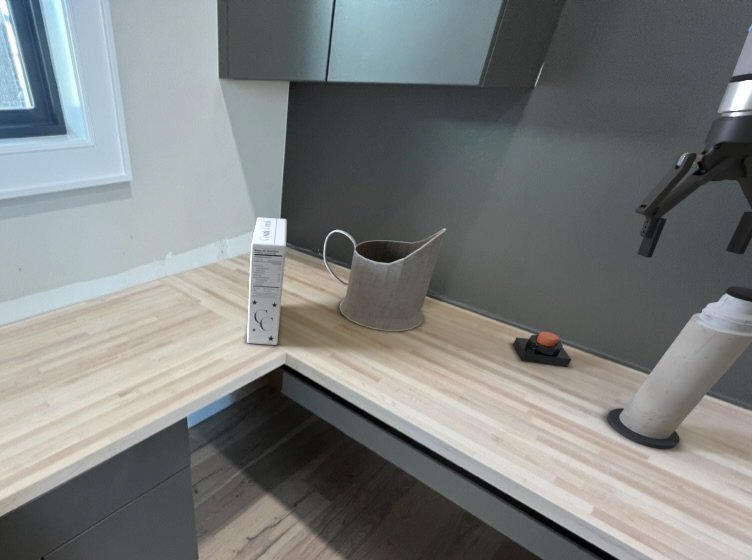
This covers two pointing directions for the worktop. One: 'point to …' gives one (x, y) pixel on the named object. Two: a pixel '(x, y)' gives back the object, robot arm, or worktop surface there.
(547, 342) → the lid button
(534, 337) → the button block
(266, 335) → the cereal box
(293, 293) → the worktop surface
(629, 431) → the coaster
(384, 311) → the pitcher
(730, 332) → the thermos bottle
